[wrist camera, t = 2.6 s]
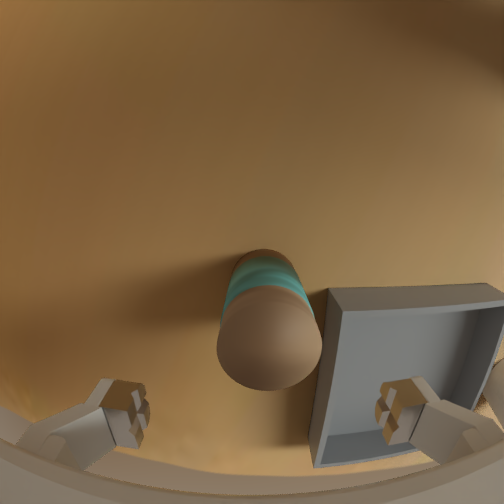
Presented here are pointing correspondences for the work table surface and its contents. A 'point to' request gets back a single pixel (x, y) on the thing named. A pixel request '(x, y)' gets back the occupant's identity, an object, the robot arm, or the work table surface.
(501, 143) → the work table surface
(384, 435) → the robot arm
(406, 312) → the bin
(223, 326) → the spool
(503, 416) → the dixie cup
